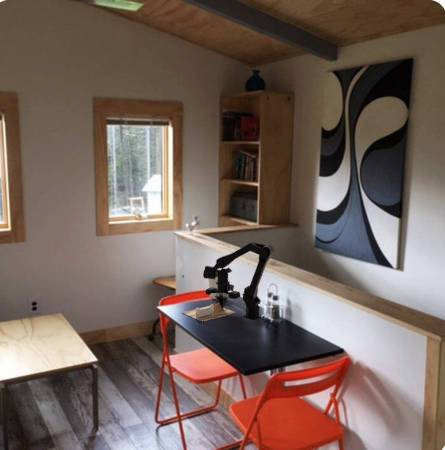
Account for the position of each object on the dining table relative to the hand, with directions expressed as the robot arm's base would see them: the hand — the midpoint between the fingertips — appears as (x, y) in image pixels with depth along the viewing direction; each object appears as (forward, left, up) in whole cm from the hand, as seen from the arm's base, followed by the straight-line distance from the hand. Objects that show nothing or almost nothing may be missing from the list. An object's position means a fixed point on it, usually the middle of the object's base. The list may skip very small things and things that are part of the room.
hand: (222, 308), depth 280 cm
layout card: (+3, +7, -2) cm, 8 cm away
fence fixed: (0, +12, -2) cm, 12 cm away
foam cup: (+23, -16, -2) cm, 28 cm away
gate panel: (+2, +1, -1) cm, 3 cm away
